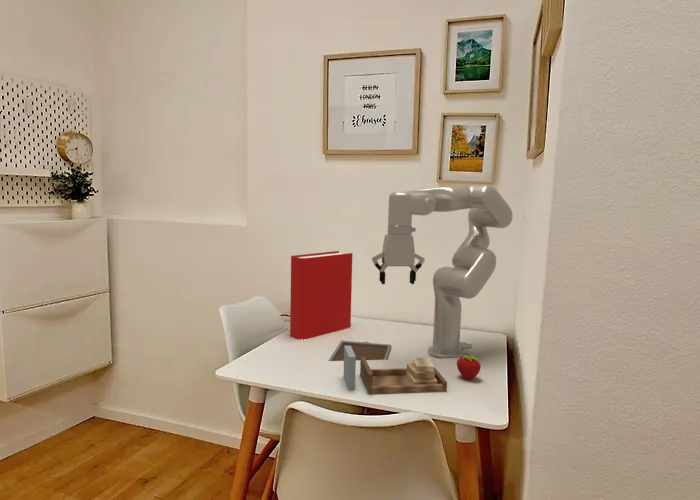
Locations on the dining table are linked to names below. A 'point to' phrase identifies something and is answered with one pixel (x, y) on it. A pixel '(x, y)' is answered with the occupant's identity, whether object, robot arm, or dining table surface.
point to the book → (320, 294)
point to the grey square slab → (349, 367)
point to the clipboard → (362, 351)
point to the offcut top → (423, 365)
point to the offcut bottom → (419, 382)
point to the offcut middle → (419, 376)
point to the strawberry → (468, 366)
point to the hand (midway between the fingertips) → (397, 283)
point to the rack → (395, 381)
